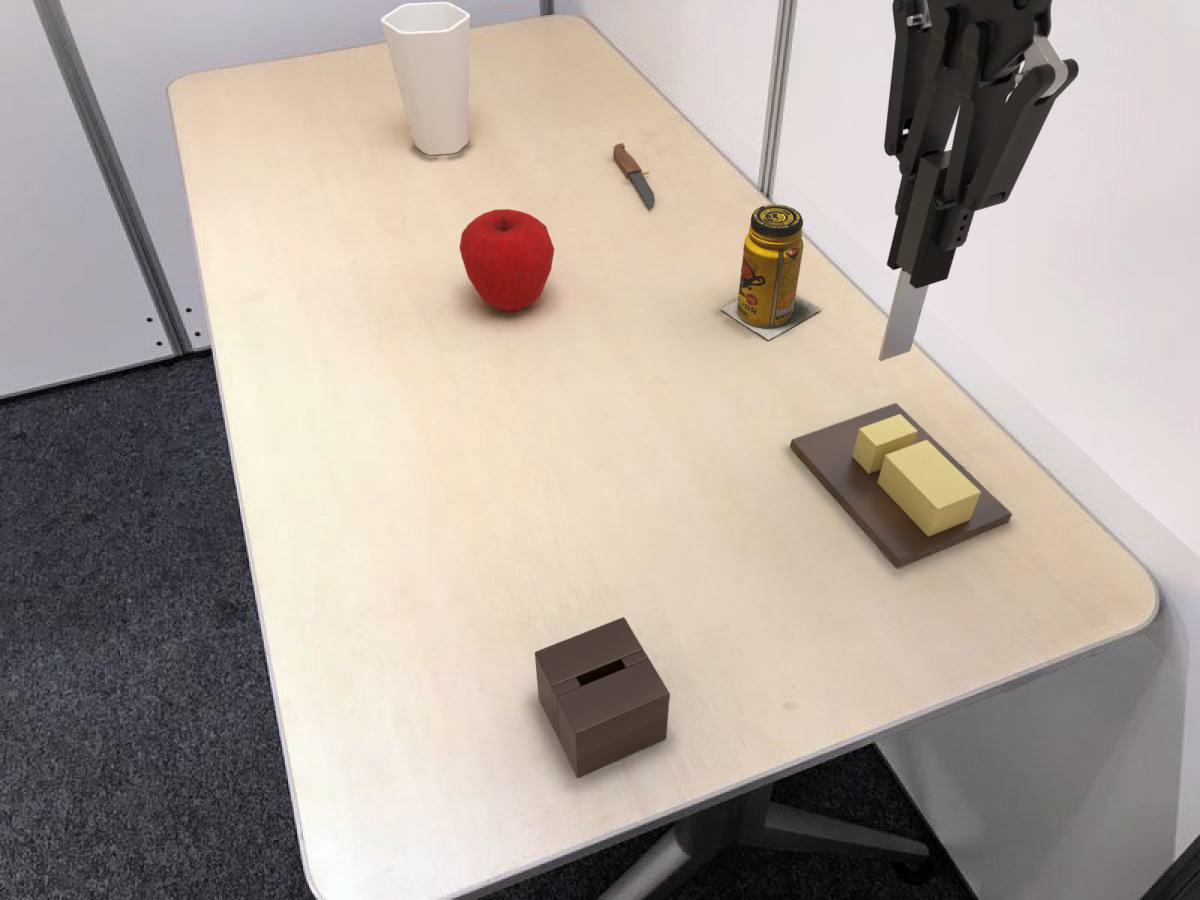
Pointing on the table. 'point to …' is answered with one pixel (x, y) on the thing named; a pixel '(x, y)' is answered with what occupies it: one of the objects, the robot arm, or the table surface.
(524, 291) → the apple
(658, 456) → the table surface
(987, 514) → the butter board
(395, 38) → the cup
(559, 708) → the knife block
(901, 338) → the butter knife
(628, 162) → the knife
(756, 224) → the condiment
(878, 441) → the butter slice
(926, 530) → the butter block
